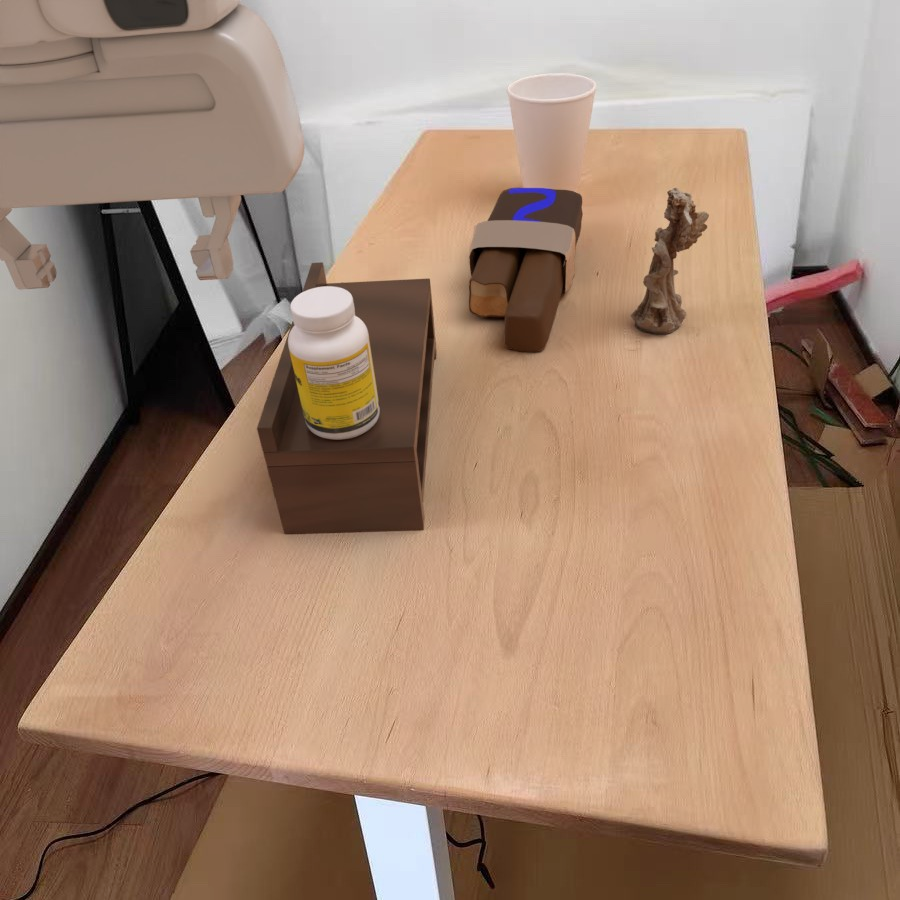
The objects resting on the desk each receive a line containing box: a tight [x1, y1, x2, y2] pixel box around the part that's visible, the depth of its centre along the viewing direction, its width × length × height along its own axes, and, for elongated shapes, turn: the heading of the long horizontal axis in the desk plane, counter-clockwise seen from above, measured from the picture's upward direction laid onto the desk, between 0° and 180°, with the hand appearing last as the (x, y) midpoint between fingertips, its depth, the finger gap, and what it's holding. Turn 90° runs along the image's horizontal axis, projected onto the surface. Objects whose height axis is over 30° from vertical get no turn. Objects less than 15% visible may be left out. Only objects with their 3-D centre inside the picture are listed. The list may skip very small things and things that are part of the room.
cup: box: [506, 72, 598, 193], centre depth 119 cm, size 12×12×16 cm
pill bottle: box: [288, 286, 380, 440], centre depth 67 cm, size 6×6×11 cm
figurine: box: [630, 187, 710, 335], centre depth 92 cm, size 7×6×15 cm
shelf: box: [256, 262, 438, 535], centre depth 81 cm, size 28×12×11 cm, turn 178°
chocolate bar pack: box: [468, 187, 584, 353], centre depth 103 cm, size 12×30×8 cm, turn 165°
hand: (127, 279), depth 44 cm, fingers open, 8 cm apart
